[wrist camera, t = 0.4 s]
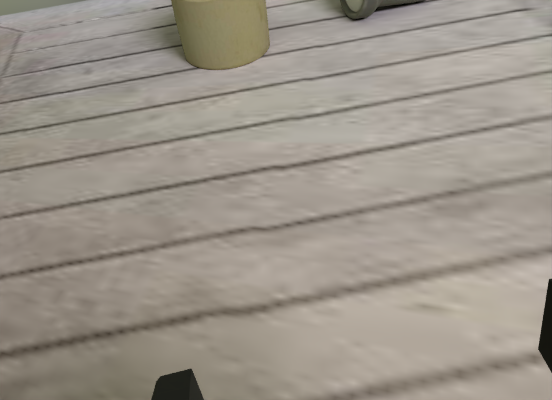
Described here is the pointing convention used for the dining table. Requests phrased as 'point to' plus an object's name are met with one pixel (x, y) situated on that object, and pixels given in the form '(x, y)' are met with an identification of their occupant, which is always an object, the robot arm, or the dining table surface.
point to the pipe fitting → (367, 6)
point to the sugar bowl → (222, 31)
